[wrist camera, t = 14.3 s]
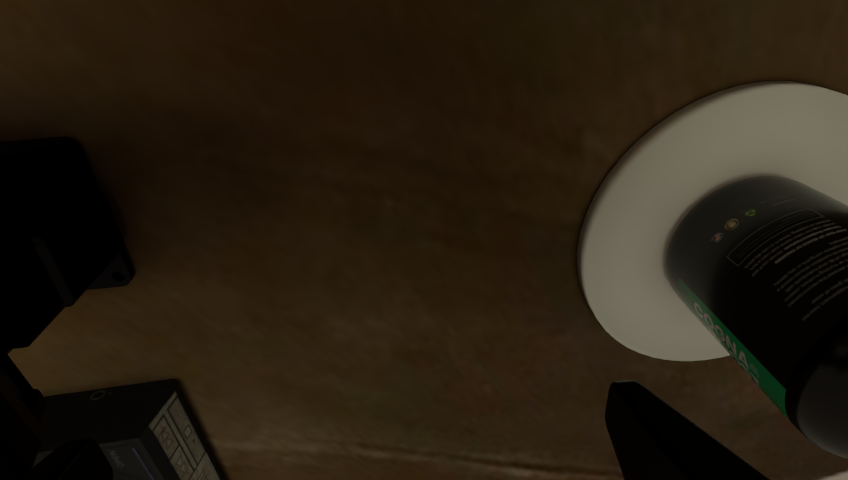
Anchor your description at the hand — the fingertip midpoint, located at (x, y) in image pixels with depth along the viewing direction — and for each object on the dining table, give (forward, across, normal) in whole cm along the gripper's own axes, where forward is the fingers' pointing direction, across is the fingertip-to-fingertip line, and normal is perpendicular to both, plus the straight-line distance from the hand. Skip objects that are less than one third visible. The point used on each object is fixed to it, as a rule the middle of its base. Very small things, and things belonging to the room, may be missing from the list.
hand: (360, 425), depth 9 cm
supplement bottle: (+12, -16, +5) cm, 21 cm away
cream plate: (+13, -16, +5) cm, 21 cm away
